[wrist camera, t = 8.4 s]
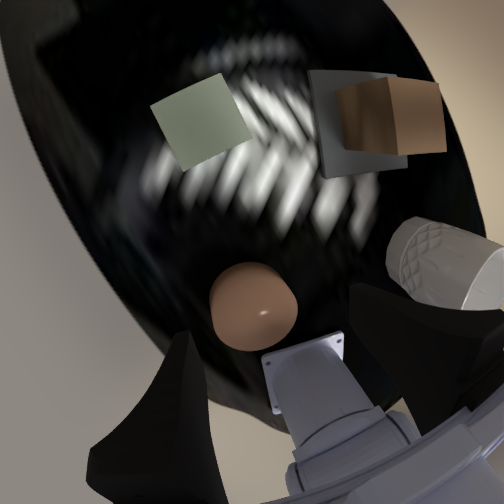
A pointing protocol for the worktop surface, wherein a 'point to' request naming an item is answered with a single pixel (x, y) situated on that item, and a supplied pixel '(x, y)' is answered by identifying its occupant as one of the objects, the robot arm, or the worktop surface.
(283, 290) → the brown rounded disc
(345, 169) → the plate
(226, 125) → the sage cube
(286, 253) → the worktop surface
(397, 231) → the white cup
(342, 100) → the walnut block
